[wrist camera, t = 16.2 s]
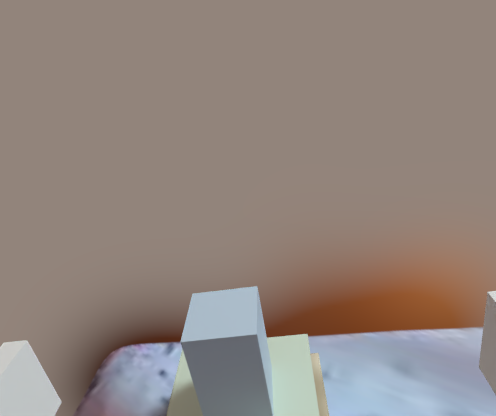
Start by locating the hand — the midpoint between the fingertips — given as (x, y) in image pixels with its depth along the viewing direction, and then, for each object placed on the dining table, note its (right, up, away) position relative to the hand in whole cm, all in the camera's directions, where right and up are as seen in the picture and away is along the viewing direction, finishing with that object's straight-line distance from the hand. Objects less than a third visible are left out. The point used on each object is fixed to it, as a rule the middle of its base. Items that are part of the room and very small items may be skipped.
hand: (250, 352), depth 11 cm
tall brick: (-1, -13, +25) cm, 29 cm away
